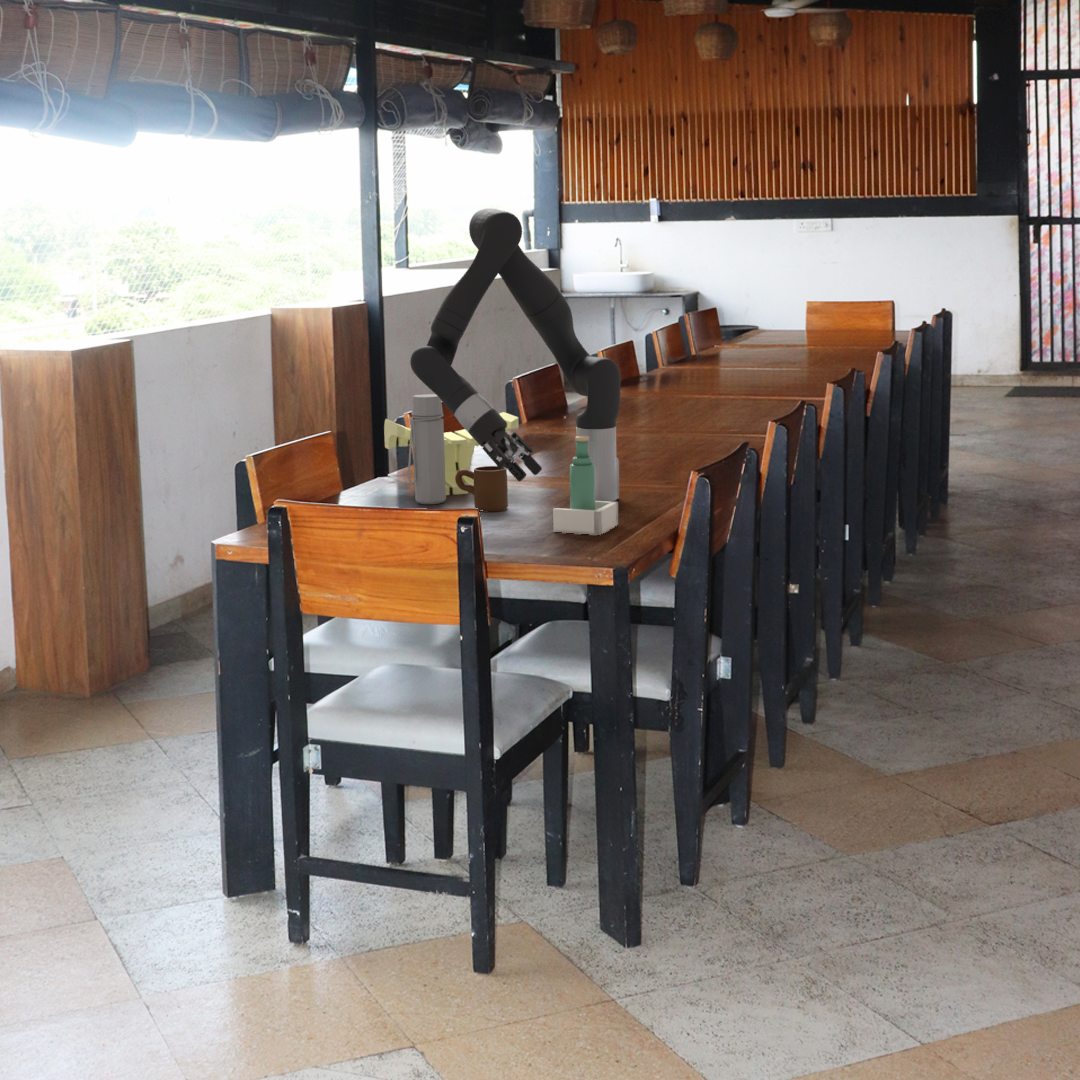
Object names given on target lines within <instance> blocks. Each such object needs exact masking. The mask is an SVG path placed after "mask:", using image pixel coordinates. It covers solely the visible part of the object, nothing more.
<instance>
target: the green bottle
mask: <svg viewBox="0 0 1080 1080" xmlns="http://www.w3.org/2000/svg"><path fill="white" fill-rule="evenodd" d="M574 441H575V456H573V457H572V463H570V464H569V509H582V510H595V464H593V463H592V457H590V456H588V441H589V436H574Z"/></svg>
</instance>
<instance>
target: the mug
mask: <svg viewBox="0 0 1080 1080" xmlns="http://www.w3.org/2000/svg"><path fill="white" fill-rule="evenodd" d="M507 471H508V469H504V468H503V467H502V468H499V467H498V466H497V465H487V466H486V465H485V466H479V467H475V468H473V471H472V470H471V469H470V470H468V469H462V470H460V471H458V472H457V474H456V476H455V480H456V484H457V486H458V487H459V488H460V489H462V490H464V491H468V492H470V493H469V494H471V495H473V498H474V499H473V501H474V508H478V509H479V510H483V511H498V512H502V511H501V510H503V511H505V509H506V510H507V509H508V505H509V504H508V498H509V497H508V473H507ZM462 476H467V477H469V478H472V479H473V480H474V486H473V485H471V484H465V483H464V482H463V480H462Z"/></svg>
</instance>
